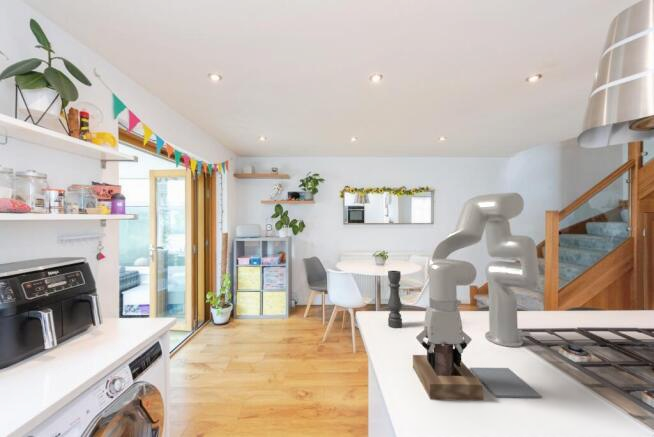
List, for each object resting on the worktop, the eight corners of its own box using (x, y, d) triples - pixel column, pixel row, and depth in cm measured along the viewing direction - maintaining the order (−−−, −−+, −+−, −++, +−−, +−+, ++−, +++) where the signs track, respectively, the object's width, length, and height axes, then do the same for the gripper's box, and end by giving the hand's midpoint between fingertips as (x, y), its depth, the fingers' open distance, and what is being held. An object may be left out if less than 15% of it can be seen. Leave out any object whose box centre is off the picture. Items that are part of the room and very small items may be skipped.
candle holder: (394, 329, 119) (393, 273, 120) (385, 324, 125) (384, 271, 125) (404, 326, 122) (403, 272, 123) (395, 322, 128) (394, 270, 128)
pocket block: (456, 367, 87) (455, 355, 87) (483, 399, 71) (482, 384, 71) (413, 367, 88) (412, 354, 88) (430, 399, 72) (429, 384, 72)
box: (439, 374, 83) (439, 335, 83) (455, 380, 80) (454, 339, 80) (433, 383, 78) (432, 342, 79) (449, 389, 76) (448, 346, 76)
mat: (508, 369, 86) (508, 367, 86) (541, 398, 72) (541, 395, 72) (470, 369, 86) (470, 367, 86) (496, 397, 72) (496, 395, 72)
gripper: (466, 300, 83) (467, 358, 83) (410, 300, 84) (411, 357, 84) (479, 308, 76) (480, 371, 75) (417, 308, 76) (418, 371, 76)
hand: (444, 363), depth 79 cm, fingers closed on box, 6 cm apart
